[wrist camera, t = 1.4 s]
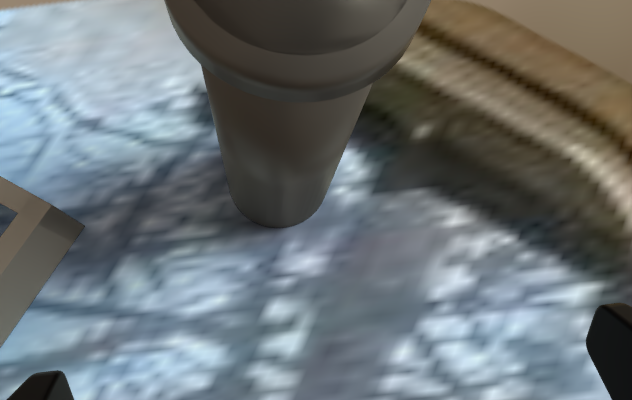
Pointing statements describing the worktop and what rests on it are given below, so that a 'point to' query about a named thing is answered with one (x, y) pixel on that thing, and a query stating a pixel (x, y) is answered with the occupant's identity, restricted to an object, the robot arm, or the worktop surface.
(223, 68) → the grey domed pawn
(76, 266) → the worktop surface
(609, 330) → the robot arm
